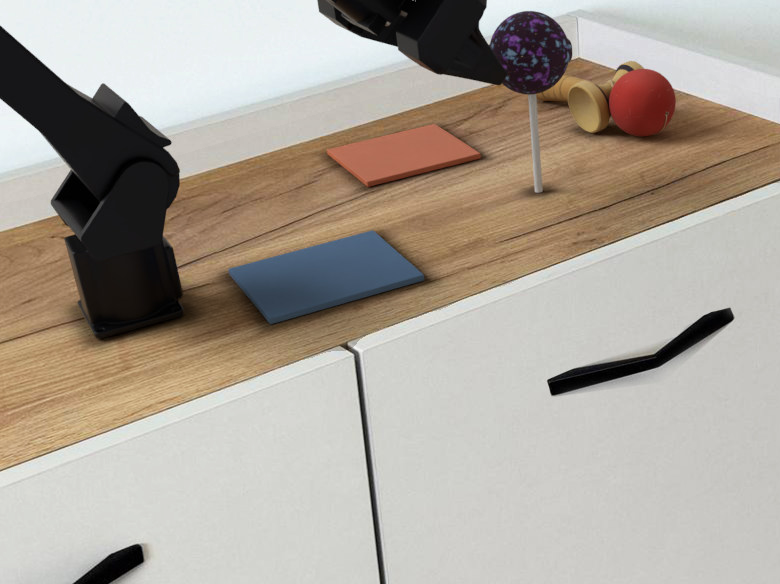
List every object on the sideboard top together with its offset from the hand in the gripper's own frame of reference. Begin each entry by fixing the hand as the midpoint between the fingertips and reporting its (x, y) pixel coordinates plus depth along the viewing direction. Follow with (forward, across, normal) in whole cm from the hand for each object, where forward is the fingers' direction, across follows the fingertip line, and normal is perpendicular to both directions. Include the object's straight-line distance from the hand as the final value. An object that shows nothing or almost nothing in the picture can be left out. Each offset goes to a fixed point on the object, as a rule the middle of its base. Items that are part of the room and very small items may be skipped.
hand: (473, 66), depth 103 cm
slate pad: (-3, -4, +20) cm, 20 cm away
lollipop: (+12, 0, +5) cm, 13 cm away
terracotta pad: (+8, +15, +8) cm, 19 cm away
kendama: (+22, +11, -5) cm, 25 cm away
